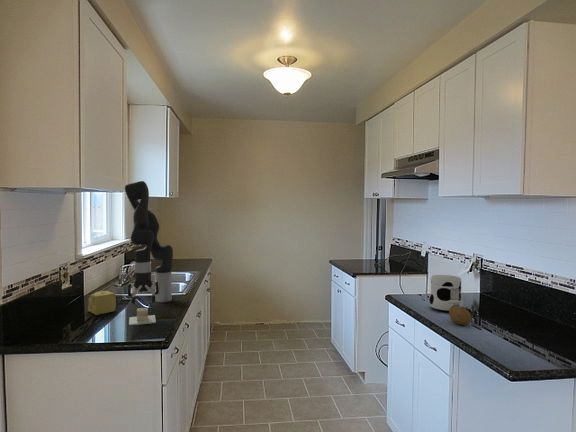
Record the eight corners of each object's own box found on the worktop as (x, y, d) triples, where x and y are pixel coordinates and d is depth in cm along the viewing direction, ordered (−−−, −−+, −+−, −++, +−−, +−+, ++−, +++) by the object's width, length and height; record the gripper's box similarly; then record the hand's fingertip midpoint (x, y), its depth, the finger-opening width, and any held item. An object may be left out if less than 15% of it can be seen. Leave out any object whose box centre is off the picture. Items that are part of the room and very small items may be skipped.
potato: (456, 328, 183) (457, 311, 183) (444, 319, 197) (444, 304, 197) (477, 328, 183) (477, 311, 183) (463, 319, 198) (463, 304, 197)
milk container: (433, 304, 228) (434, 273, 228) (465, 309, 218) (466, 276, 218) (424, 310, 214) (425, 277, 214) (458, 316, 204) (459, 281, 204)
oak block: (136, 318, 195) (136, 308, 195) (147, 317, 197) (147, 307, 197) (136, 321, 190) (136, 311, 190) (147, 320, 192) (147, 310, 192)
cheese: (87, 311, 209) (87, 293, 209) (108, 307, 217) (108, 289, 217) (95, 315, 202) (95, 296, 202) (116, 311, 210) (116, 292, 210)
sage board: (129, 318, 197) (129, 317, 197) (154, 316, 201) (154, 315, 201) (129, 325, 186) (129, 324, 186) (155, 322, 190) (155, 321, 190)
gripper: (127, 273, 187) (127, 307, 188) (158, 271, 192) (159, 304, 193) (127, 270, 194) (128, 303, 194) (157, 268, 199) (158, 300, 200)
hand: (143, 303), depth 194 cm, fingers open, 8 cm apart
